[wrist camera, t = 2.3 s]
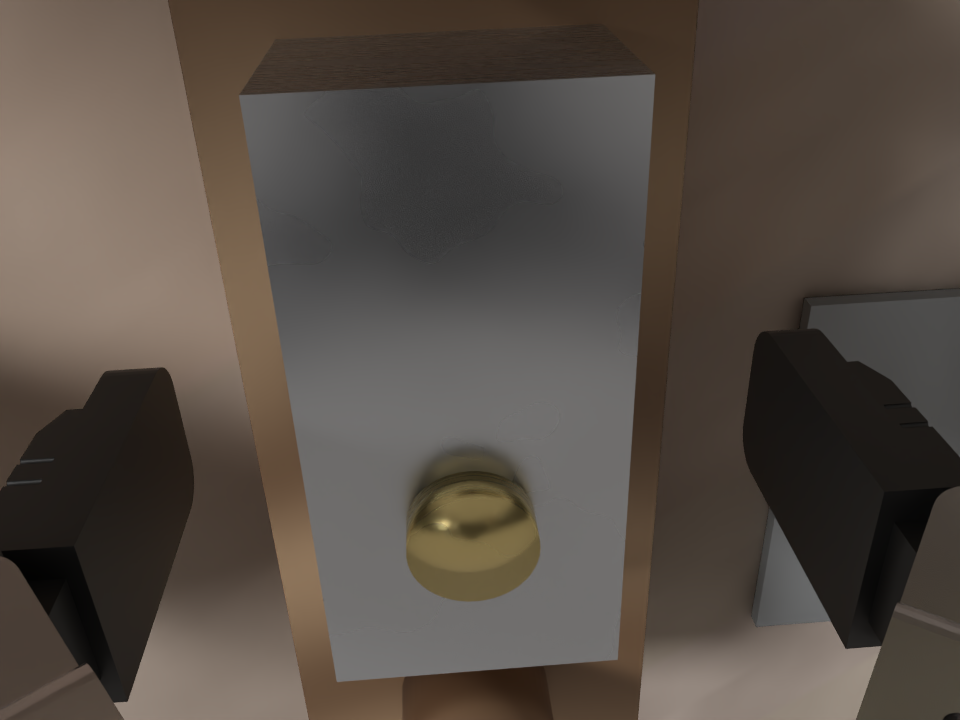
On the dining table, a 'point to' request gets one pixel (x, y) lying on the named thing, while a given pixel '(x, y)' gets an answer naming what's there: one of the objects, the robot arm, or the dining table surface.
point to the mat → (914, 370)
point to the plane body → (237, 230)
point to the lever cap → (459, 332)
